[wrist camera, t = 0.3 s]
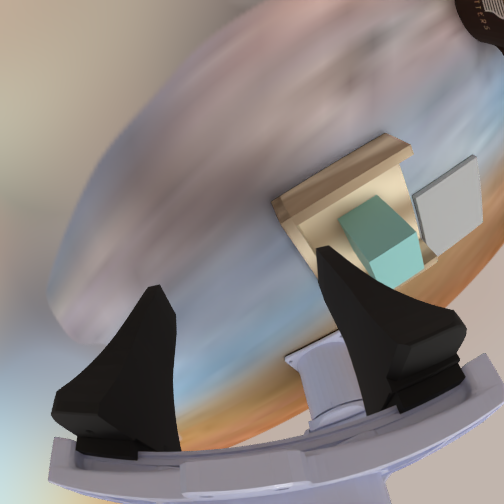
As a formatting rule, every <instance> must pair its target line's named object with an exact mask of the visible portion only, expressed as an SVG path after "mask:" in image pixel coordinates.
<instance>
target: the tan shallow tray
mask: <svg viewBox="0 0 504 504" xmlns="http://www.w3.org/2000/svg"><path fill="white" fill-rule="evenodd" d="M412 155H414V153H413V150H412V147H411V145H410V144H408V143H406V142H404V141H402V140H400V139H398V138H396V137H393V136H391V135H389V134H387V133H384V134H383V135H381V136H379V137H377V138H376V139H374V140H372V141H370V142H369V143H367V144H365V145H364V146H362V147H360V148H358V149H357V150H355V151H353V152H352V153H350V154H348V155H347V156H345V157H343V158H342V159H340V160H338V161H336V162H335V163H333V164H331V165H330V166H328V167H327V168H325V169H323V170H322V171H320V172H318V173H317V174H315V175H313V176H312V177H310V178H308V179H307V180H305V181H304V182H302V183H300V184H299V185H297V186H295V187H294V188H292V189H291V190H289V191H287V192H286V193H284V194H283V195H281V196H279V197H278V198H276V199H275V200H273V201H271V203H272V206H273V208H274V210H275V213H276V215H277V218H278V220H279V222H280V224H281V226H282V227H283V229H284V230H285V232H286V233H287V234H288V236H289V237H290V239H291V240H292V242H293V243H294V245H295V246H296V247H297V249H298V250H299V252H300V253H301V255H302V256H303V258H304V259H305V261H306V262H307V264H308V265H309V266H310V268H311V269H312V271H313V272H314V274H315V275H316V277H317V278H318V272H317V258H316V248H319V247H323V246H327V245H329V246H331V247H332V248H333V249H334V250H336V251H337V252H338V253H339V254H341V255H342V256H343V257H345V258H346V259H347V260H348V261H350V262H351V263H352V264H354V265H355V266H357V267H358V268H359V269H361V270H362V271H363V272H365V273H366V274H368V275H369V273H368V272H367V270H366V269H365V267H364V266H363V264H362V263H361V261H360V260H359V258H358V257H357V255H356V254H355V252H354V251H353V249H352V247H351V245H350V243H349V241H348V239H347V237H346V235H345V233H344V231H343V229H342V227H341V225H340V223H339V221H338V218H340V217H341V216H343V215H345V214H346V213H348V212H349V211H351V210H353V209H354V208H356V207H358V206H359V205H361V204H362V203H364V202H366V201H367V200H369V199H370V198H372V197H374V196H375V195H378V196H379V197H380V198H381V199H382V200H383V201H384V202H386V203H387V204H388V205H389V206H390V207H391V208H392V209H393V210H394V211H395V212H396V213H397V214H399V215H400V216H401V217H402V218H403V219H404V220H405V221H406V222H407V223H408V224H409V225H410V226H411V227H412V228H413V229H414V230H415V231H416V232H417V236H418V240H419V245H420V249H421V254H422V259H423V264H424V269H423V270H421V271H420V272H418V273H417V274H415V275H414V276H412V277H411V278H409V279H408V280H406V281H405V282H403V283H402V284H400V285H399V286H397V287H395V288H394V290H396V289H398V288H399V287H401V286H402V285H404V284H406V283H407V282H409V281H410V280H412V279H413V278H415V277H416V276H418V275H419V274H421V273H422V272H423V271H425V270H426V269H428V268H429V267H431V266H432V265H434V264H435V263H436V262H438V258H437V255H436V254H435V253H434V252H433V251H432V250H431V249H430V248H429V247H428V246H427V245H426V244H425V242H424V241H423V240H422V239H421V238H420V234H419V230H418V226H417V222H416V218H415V214H414V211H413V207H412V203H411V200H410V196H409V193H408V190H407V186H406V183H405V180H404V177H403V174H402V171H401V168H400V165H399V163H400V162H402V161H404V160H405V159H407V158H409V157H410V156H412ZM369 276H370V275H369Z"/></svg>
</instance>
